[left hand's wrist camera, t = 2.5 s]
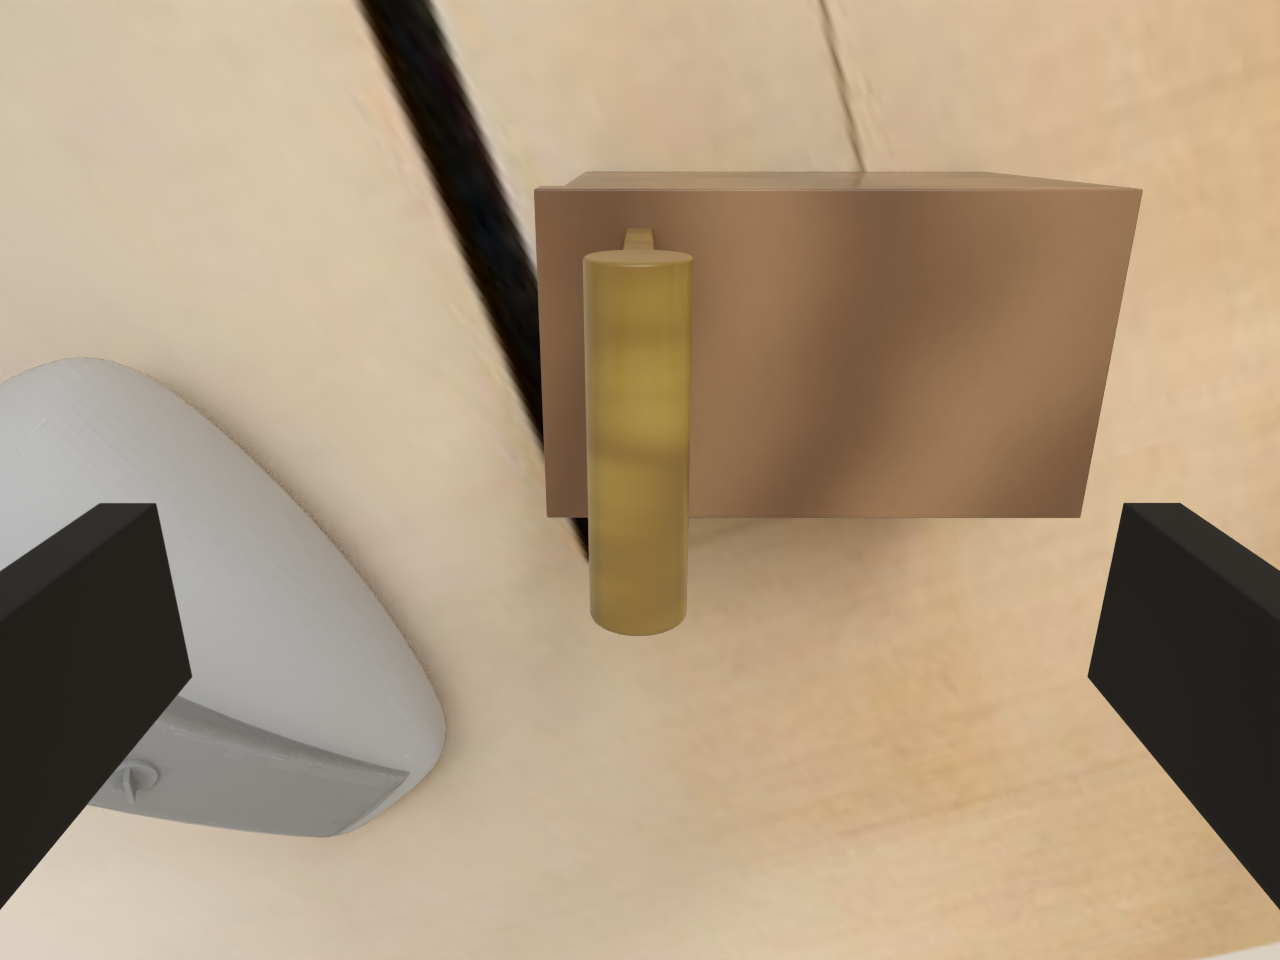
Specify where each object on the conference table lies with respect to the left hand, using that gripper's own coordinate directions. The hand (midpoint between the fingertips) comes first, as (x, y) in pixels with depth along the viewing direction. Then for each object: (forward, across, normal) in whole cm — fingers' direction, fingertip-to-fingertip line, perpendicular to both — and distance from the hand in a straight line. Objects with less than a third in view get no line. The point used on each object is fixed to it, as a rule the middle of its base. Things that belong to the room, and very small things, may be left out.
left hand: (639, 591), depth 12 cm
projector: (+25, -19, -14) cm, 34 cm away
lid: (+15, +5, 0) cm, 16 cm away
